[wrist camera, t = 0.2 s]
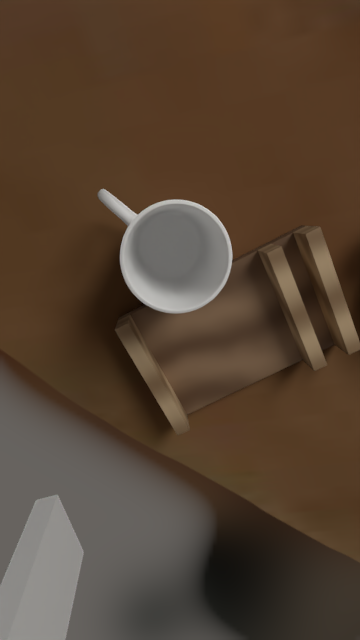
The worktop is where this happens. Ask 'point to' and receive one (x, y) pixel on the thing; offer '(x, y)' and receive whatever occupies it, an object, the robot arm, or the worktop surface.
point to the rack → (243, 327)
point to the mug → (172, 253)
